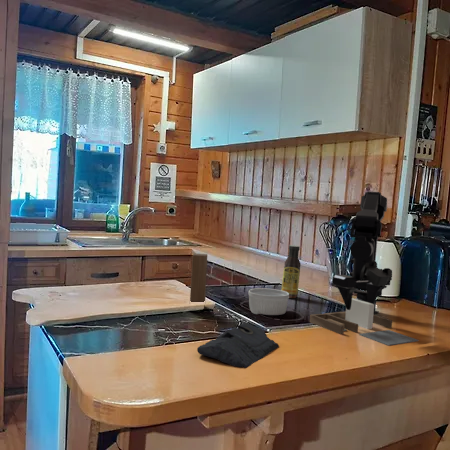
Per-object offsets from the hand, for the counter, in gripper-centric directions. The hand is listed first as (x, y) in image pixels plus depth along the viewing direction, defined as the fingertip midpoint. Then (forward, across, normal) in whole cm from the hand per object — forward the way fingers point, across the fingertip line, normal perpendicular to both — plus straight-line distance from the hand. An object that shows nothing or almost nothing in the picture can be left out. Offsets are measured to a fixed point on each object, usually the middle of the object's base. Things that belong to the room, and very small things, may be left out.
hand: (359, 308), depth 139 cm
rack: (+6, -3, 0) cm, 6 cm away
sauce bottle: (+6, +6, +41) cm, 42 cm away
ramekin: (+6, -17, +23) cm, 29 cm away
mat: (+6, -2, -13) cm, 14 cm away
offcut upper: (+5, -10, 0) cm, 11 cm away
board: (+6, 0, 0) cm, 6 cm away
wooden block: (+6, -37, +34) cm, 51 cm away
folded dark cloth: (+6, -46, -5) cm, 47 cm away
